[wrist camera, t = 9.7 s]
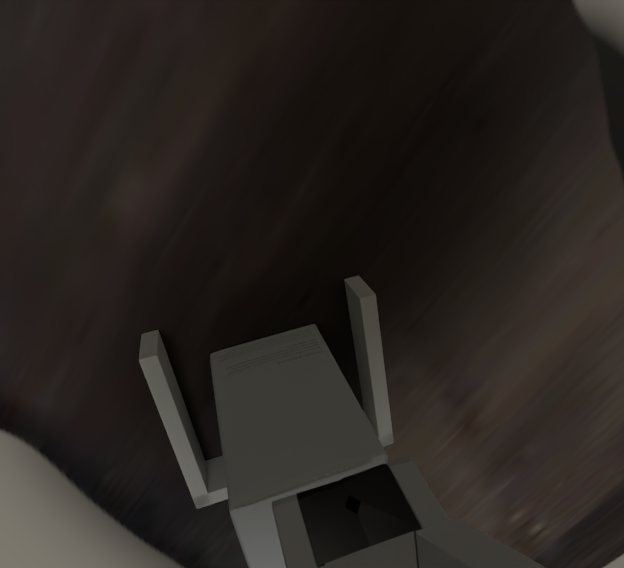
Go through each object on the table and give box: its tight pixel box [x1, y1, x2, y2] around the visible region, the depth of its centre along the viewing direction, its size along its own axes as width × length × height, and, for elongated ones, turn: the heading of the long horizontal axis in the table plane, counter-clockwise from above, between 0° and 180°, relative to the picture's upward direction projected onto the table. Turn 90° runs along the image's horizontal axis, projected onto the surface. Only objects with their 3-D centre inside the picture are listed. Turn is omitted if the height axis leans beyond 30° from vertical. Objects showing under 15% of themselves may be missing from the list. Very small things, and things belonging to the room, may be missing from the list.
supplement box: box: [210, 324, 388, 568], centre depth 28 cm, size 7×7×13 cm
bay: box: [139, 275, 394, 509], centre depth 32 cm, size 12×14×3 cm
